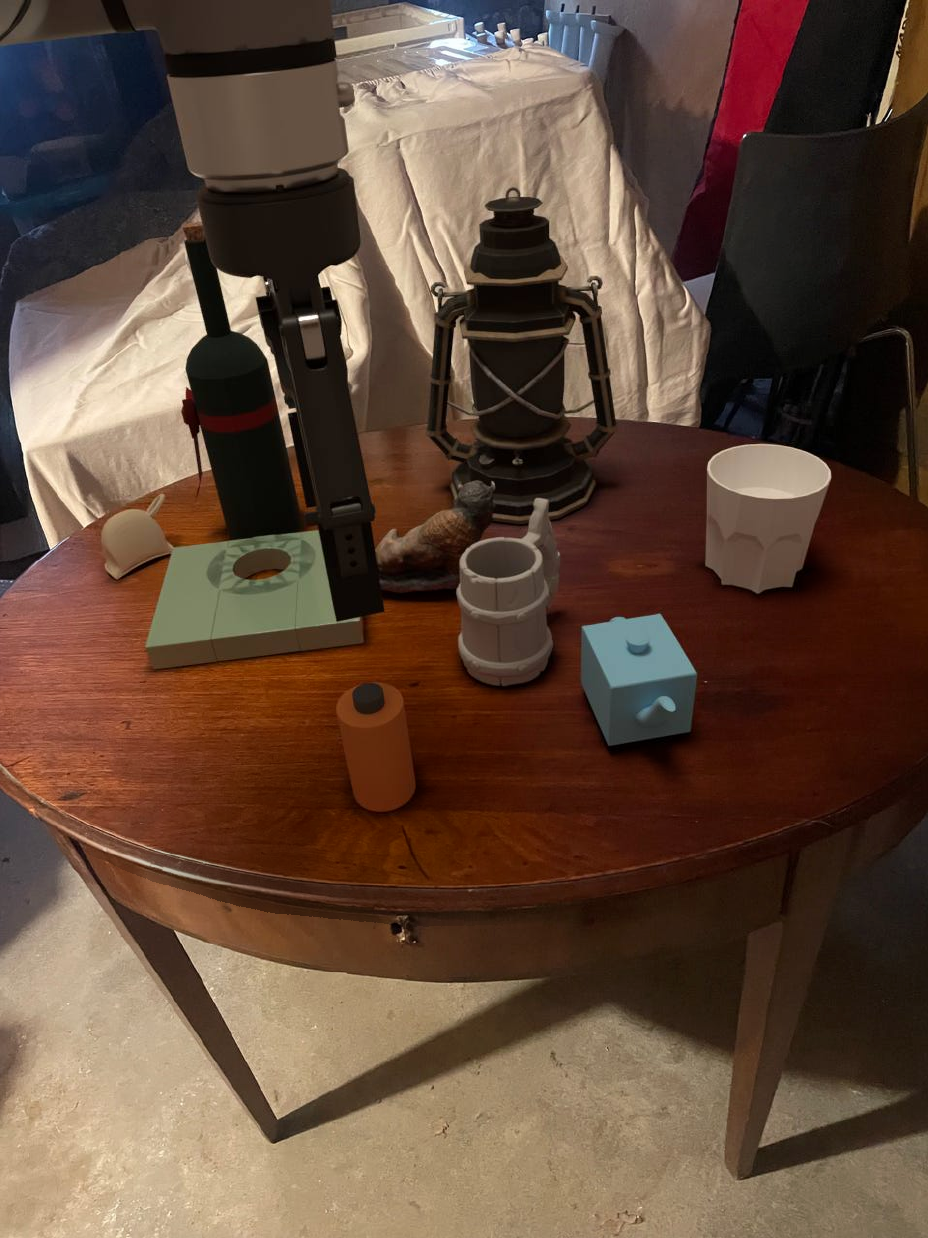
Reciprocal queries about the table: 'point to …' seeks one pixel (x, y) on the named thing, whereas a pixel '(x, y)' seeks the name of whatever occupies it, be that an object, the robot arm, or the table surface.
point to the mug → (509, 603)
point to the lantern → (520, 368)
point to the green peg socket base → (246, 602)
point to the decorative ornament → (133, 539)
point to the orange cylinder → (376, 746)
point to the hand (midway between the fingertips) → (341, 552)
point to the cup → (762, 513)
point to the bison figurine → (436, 544)
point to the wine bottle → (236, 414)
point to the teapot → (637, 679)
